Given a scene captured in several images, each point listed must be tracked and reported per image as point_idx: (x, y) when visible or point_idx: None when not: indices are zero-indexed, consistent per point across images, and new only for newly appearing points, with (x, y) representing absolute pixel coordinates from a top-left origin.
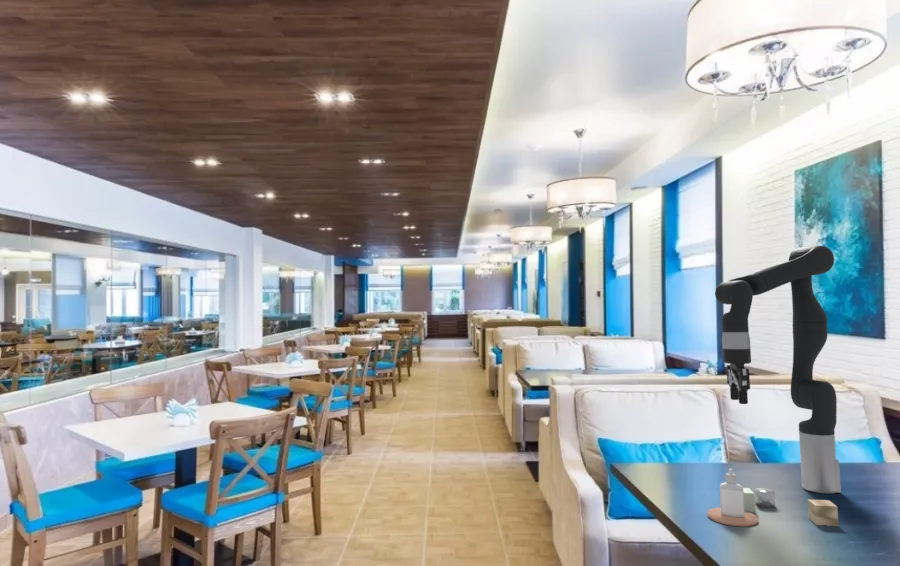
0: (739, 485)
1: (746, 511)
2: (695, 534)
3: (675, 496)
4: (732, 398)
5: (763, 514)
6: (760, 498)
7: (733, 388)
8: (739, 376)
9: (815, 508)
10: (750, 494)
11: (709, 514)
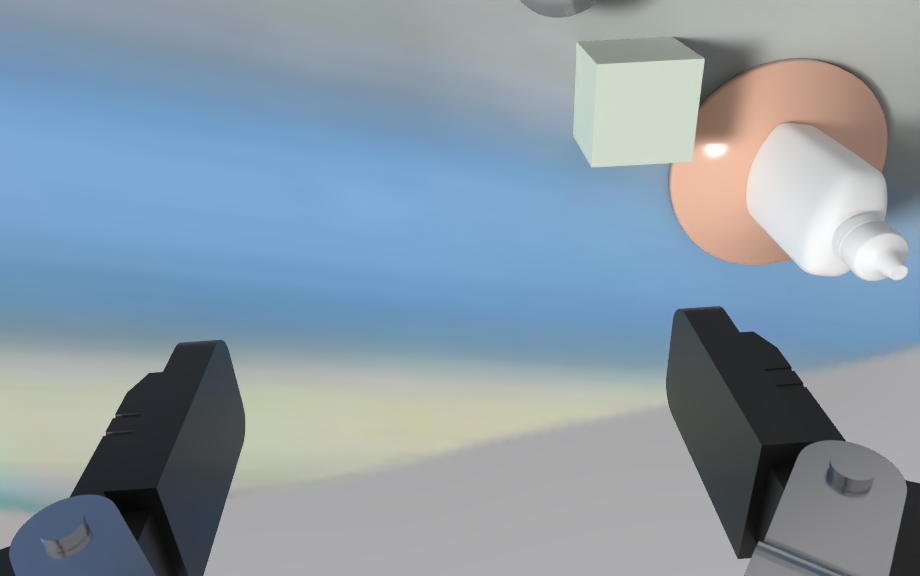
0: (879, 194)
1: (723, 94)
2: None
3: (486, 346)
4: (239, 425)
5: (711, 3)
6: None
7: (188, 546)
8: None
9: None
10: (700, 78)
11: (770, 260)
